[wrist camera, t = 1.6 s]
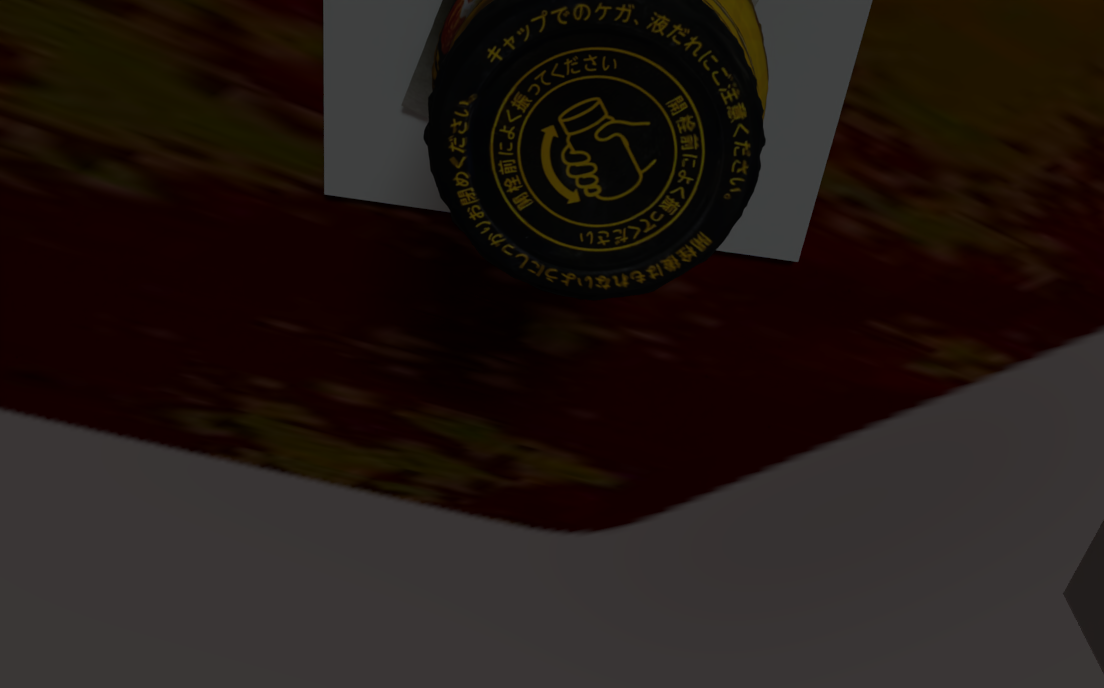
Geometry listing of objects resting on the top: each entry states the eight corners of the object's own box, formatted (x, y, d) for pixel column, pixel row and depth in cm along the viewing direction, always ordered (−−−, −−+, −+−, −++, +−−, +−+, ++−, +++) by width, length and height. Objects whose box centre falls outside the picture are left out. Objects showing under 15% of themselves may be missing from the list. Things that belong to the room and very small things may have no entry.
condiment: (799, -74, 24) (921, 58, 14) (638, 212, 28) (637, 477, 18) (528, -221, 23) (437, -196, 12) (403, 101, 27) (258, 318, 17)
